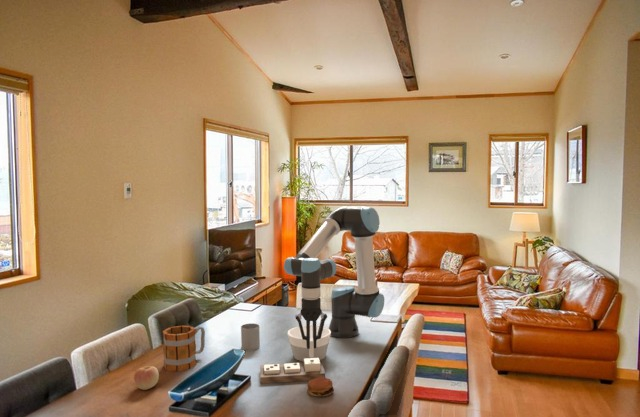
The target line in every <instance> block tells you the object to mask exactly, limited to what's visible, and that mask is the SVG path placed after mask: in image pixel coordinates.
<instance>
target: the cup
mask: <svg viewBox="0 0 640 417" xmlns="http://www.w3.org/2000/svg"><path fill="white" fill-rule="evenodd" d="M240 334H241V337H240V340H241V350H243V351H256V350H258V349H260V348H261V346H260V345H261V344H260V343H261V342H260V341H261V339H260V324H257V323H245V324H242V325H241V326H240Z"/></svg>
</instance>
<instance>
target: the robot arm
mask: <svg viewBox="0 0 640 417" xmlns="http://www.w3.org/2000/svg"><path fill="white" fill-rule="evenodd" d="M380 223H381V222H380V216H379V213H378V212H377V210H376V209H375V208H373V207H372V206H349V205H348V206H345V205H344V206H340V207H338V208H336V209H334V210H333V211H331V212H330V213H328V214H327V215H326V216H325V217H324V218H323V220H322V221H321V224H320V227H319V228H318V229H317V230H316V232H314V233H313V235H312V236H311V237H310V238H309V240H307V242H306V243H305V245H304V246H303V247H302V248H301V249H300V250H299V251H298V253H297V254H296V255H295V257H294V256H290V257H287V258H286V259H285V260H284V263H283V269H284V271H285V273H286V274H288V275H290V276H294V277H295V276H296V277H301V309H300V312H299V313H298V314H295V315H294V317H295V320H296V321H297V323H298V327H300V331H301V335H302V339H303V340H306V343H307V349H309V356H310V358H311V357H314V348H316V341H317V339H320V338H321V335H322V331H323V327H324V326H325V322H326V320H327V318H328V315H327V313H324V312H323V310H322V309H321V304H322V303H321V302H322V300H321V298H320V297H321V281H322V280H325V279H329V278H332V277H333V276H334V275H336V273H337V269H338V267H337V264H336V262H335V261H334V260H333V259H330V258H328V259H327V258H324V259H320V258H318V256H319V255H320V254H321V253H322V251H323V250H324V249H325V247H326V246H327V245H328V244H329V242H330V241H331V240H332V239H333V238H334V237H335V236H337V235H339V234H340V232H344V231H348V232H350V236H351V238H353V240H354V249H355V250H354V252H355V265H356V278H357V279H356V280H357V286H356V288H355V286H339V287H336V288H333V289H332V290H331V298H330V299H331V320H330V322H329V326H328V329H329V330H330V331H331V335H330V337H331V336H332V337H335V338H340V339H341V338H343V339H345V338H348V339H349V338H353V337H357V336H358V335H359V326H358V323H357V320H356V316H360V317H361V316H362V317H366V318H378V317H380V315H381V314H382V312H383V310H384V306H385V296H384V294H383V293H380V288H379V287H378V286H377V284H376V273H375V271H376V270H375V256H374V242H373V241H374V240H373V238H374V237H375V236H376V232H378V231H379V228H380ZM302 318H303V319H304V320H305V321H306V322H305V324H306V325H305V326H306V336H305V334H304V331H303V327H302V326H303V323H302ZM319 318H321V319H320V322H319V325H318V326H319V330H318V334H317V335H316V326H317V321H318V319H319ZM311 322H312V325H313V339H310V325H311Z"/></svg>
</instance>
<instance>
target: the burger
mask: <svg viewBox="0 0 640 417" xmlns="http://www.w3.org/2000/svg"><path fill="white" fill-rule="evenodd" d="M306 386H307V389H306V391H307V392H306V393H307V394H308V395H309V396H311V397H321V398H323V397H327V396H330V395H331V394H332V393H333V392H334V391H335V388H334V386H333V381H332V380H331V378H327V377H325V378H315V379H312V380H308V382H307V385H306Z"/></svg>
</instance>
